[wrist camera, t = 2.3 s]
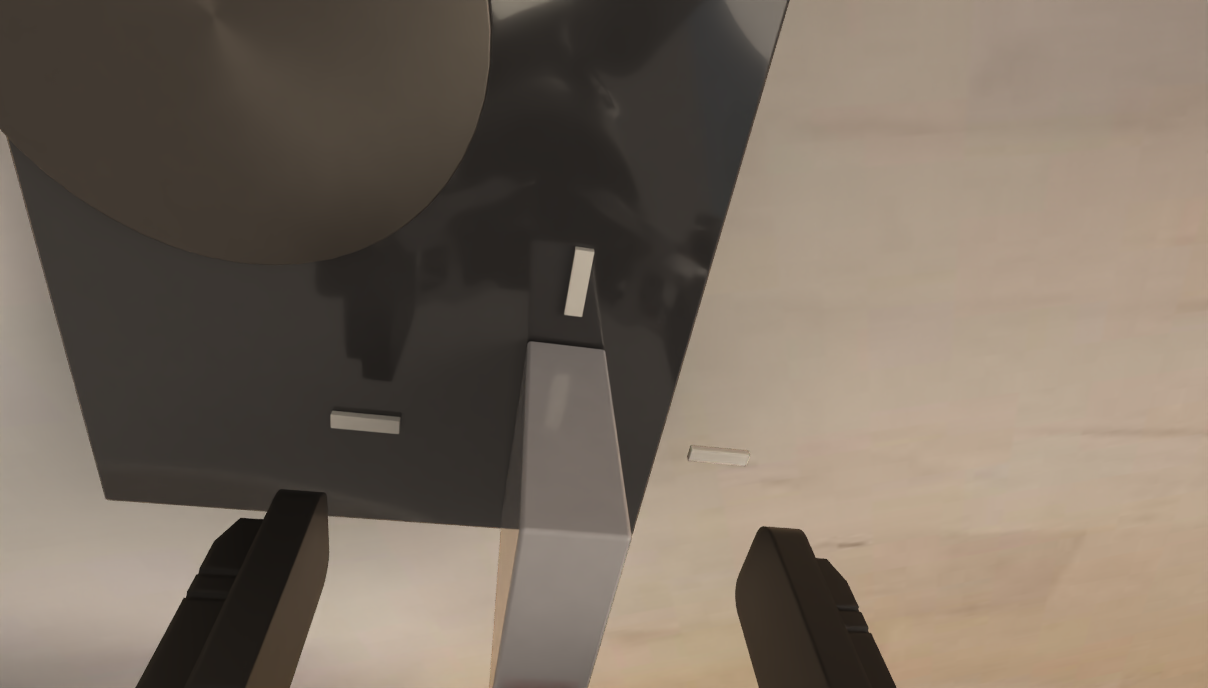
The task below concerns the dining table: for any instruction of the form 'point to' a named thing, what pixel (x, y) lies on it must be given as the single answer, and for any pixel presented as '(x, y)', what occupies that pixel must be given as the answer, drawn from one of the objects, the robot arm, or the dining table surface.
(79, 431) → the dining table surface
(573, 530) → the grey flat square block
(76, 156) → the disc
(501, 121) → the stove
